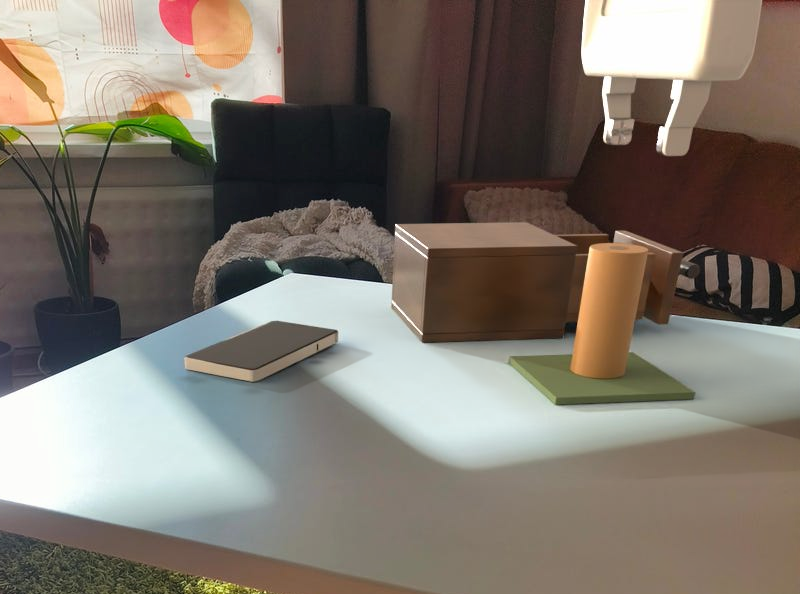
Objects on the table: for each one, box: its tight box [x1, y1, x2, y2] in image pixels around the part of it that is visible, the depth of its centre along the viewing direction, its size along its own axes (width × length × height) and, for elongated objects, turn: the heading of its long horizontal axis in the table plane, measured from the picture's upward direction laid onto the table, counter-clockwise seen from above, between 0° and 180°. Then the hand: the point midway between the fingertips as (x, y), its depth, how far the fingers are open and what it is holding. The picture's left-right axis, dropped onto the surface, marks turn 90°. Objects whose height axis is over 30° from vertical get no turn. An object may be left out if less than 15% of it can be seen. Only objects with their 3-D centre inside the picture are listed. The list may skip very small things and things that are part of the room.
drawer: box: [554, 230, 701, 325], centre depth 94 cm, size 18×13×7 cm
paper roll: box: [570, 242, 648, 379], centre depth 75 cm, size 5×5×10 cm
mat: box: [508, 351, 696, 406], centre depth 78 cm, size 12×12×1 cm
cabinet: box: [390, 221, 577, 343], centre depth 92 cm, size 15×15×9 cm
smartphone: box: [183, 320, 339, 383], centre depth 83 cm, size 8×1×15 cm
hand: (642, 149), depth 68 cm, fingers open, 8 cm apart
